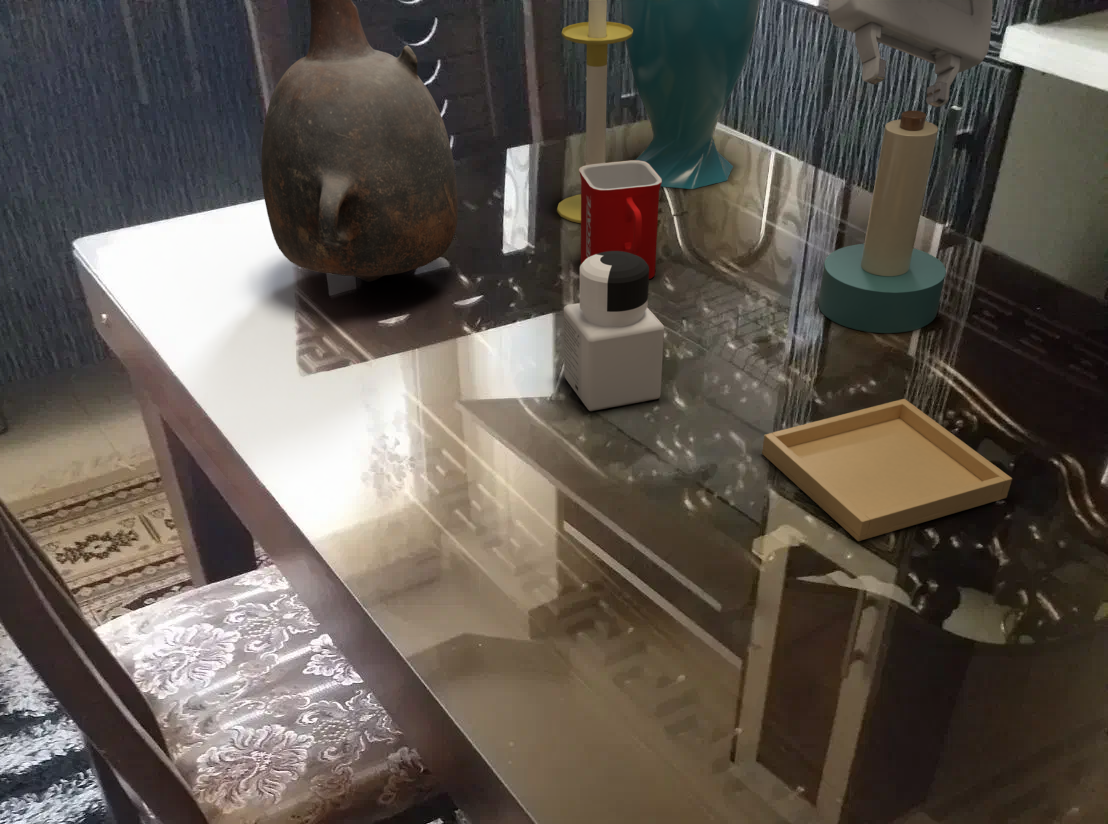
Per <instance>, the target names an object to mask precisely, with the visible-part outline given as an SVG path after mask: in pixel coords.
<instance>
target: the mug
mask: <svg viewBox="0 0 1108 824" xmlns="http://www.w3.org/2000/svg"><path fill="white" fill-rule="evenodd" d="M578 171H579V172H578V173H579V176H580V194H581V223H580V265H581V264H582V263H583V262H584V261H585V259H587V258H588V257H590V256H592V255H595V254H598V253H601V252H606V251H623V252H628V253H631V254H634V255H637V256H639V257H641V258H642V259H644V260H645V262H646V263H647V264H648V266H649V280H650V279H652V278H653V277H655V276H656V263H657V261H656V259H657V245H658V244H657V242H658V225H659V223H658V222H659V221H658V220H659V205H660V204H659V203H660V202H659V201H660V189H661V183H662V179H661V178H660V177H659V175H658V174H657V173H656V172H655V170H654V169H653V168H652V167H651V166H650V164H648V163H647V162H644V161H639V160H635V159H634V160H633V159H632V160H623V161H610V162H605V163H600V164H590V165H586V164H585V165H582V166H580V167H579V169H578Z"/></svg>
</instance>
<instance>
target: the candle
mask: <svg viewBox="0 0 1108 824" xmlns="http://www.w3.org/2000/svg"><path fill="white" fill-rule="evenodd" d="M607 10H608V0H588V21H583V22H577V23H573V24H569V25H567V26H565V27H563V28H562V31H561V36H562V38H564V39H565V40H566V41H569V42H572V43H576V44H582V45H586V83H585V84H586V89H585V90H586V91H585V95H586V96H585V97H586V98H585V99H586V100H585V101H586V102H585V117H586V118H585V165H590V164H600V163H606V155H607V154H606V153H607V152H606V150H607V149H606V148H607V147H606V145H607V142H606V141H607V99H608V98H607V92H608V49H609V48H608V47H609V45H612V44H617V43H621V42H626V40H627V39H629V38H631V37H632V34H633V29H632V28H631V27H629V26H627V25H624V24H623V23H620V22H614V21H607V19H608V18H607V16H608V15H607V14H608V13H607V12H608V11H607ZM556 213H557V214H558V215H559V216H560V217H561V218H562V219H564V220H567V221H569V222H572V223H576V224H577V223H578V224H581V193H579V194H576V195H572V196H569V197H565V198H564V199H563V200H561V201H560V202H559V203H558V205H557V208H556Z"/></svg>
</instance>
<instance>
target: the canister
mask: <svg viewBox="0 0 1108 824" xmlns="http://www.w3.org/2000/svg"><path fill="white" fill-rule="evenodd" d="M938 132H939V128H938V126H937V125H936V124H935V123H933V122H929V121H927V114H926V113H925V112H923V111H920V110H905V111H903V112H902V113H901V115H900V118H899V119H893V120H890V121H889V122H887V123H885V125H884V129H883V135H882V139H881V140H882V142H881V147H880V152H879V158H878V163H877V170H876V175H875V180H874V187H873V192H872V198H871V203H870V209H869V213H868V214H869V215H868V222H867V225H866V231H865V236H864V237H865V238H864V242H863V244H864V248H863V254H862V259H861V267H862V269H863V270H865V271H866V272H868V273H871V274H874V275H879V276H898V275H902V274H905V273H906V272H907V271H908V270H909V268H910V263H911V258H912V253H913V248H915V244H916V238H917V234H918V228H919V224H920V219H921V215H922V214H921V213H922V211H923V210H922V209H923V204H924V199H925V196H926V195H925V194H926V191H927V185H928V180H929V175H930V171H931V167H932V161H933V156H934V151H935V146H936V141H937V136H938Z"/></svg>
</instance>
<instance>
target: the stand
mask: <svg viewBox="0 0 1108 824" xmlns="http://www.w3.org/2000/svg"><path fill="white" fill-rule="evenodd" d="M863 248H864V243H857V244H851V245H848V246H843V247H841V248H838V249H835V250H834V251H832V252H831V253H829V254H828V255H827V256H826V258H825V259H824V263H823V268H822V274H821V275H822V276H821V282H820V287H819V296H818V301H817V302H818V303H817V305H818V309H819V310H820V312H821V313H822V314H823V316H824V317H826V318H827V319H829V320H830V321H832V322H834V323H835V324H838V325H841V326H842V327H846V328H848V329H853V330H856V331H861V332H867V333H873V334H875V333H876V334H898V333H906V332H912V331H916V330H919V329H921V328H924V327H926V326H927V325H930V324H931V323H932V322H933V321H934V320H935V319H936V317H937V315H938V310H939V305H940V302H941V297H942V292H943V289H944V286H945V285H944V284H945V280H946V276H947V268H946V266H945V264H944V263H943V262H942V261H941V260H940V259H939V258H937V257H936V256H934V255H933V254H930V253H929V252H926V251H925V250H924V251H923V250H922V249H918V248H915V247H914V248H913V253H912V258H911V263H910V268H909V270H908V271H907V272H906V273H905V274H902V275H898V276H879V275H874V274H871V273H868V272H866V271H865V270H863V269H862V267H861V259H862V254H863Z"/></svg>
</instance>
